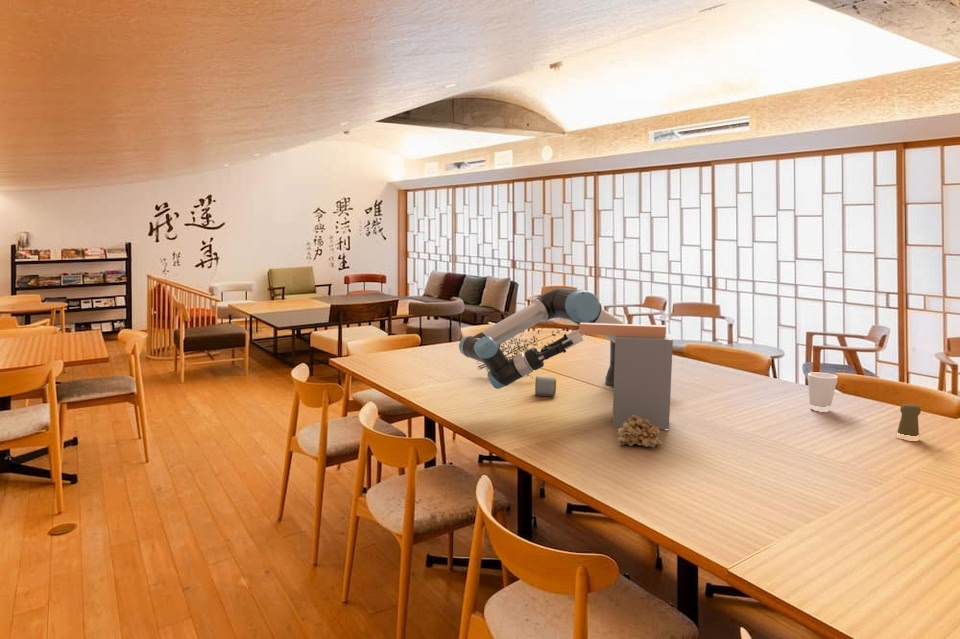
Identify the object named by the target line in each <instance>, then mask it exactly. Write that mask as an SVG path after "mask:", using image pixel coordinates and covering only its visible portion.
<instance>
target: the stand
mask: <svg viewBox="0 0 960 639" xmlns="http://www.w3.org/2000/svg"><path fill="white" fill-rule="evenodd" d="M673 342H674V340H673V337H672V334H671V333H666V338H663V337H637V336H615V363H614V386H613V395H612V396H613V398H612V399H613V401H612V427H614V426H617V428H621V426H622V425H623V422H625V421H627V420H628V418H630V417H631V416H632V415H636V416H639V417H640V418H641V419H642V420H643V419H647V420H648V421H649V422H650V424H651V425H653V426H657V427H658V428H659V429H669V430H670V414H671V413H670V412H671V409H670V408H671V392H672V391H671V390H672V389H671V388H672V367H673V363H672V362H673V348H674V347H673V344H674V343H673Z"/></svg>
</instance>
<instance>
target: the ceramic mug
mask: <svg viewBox="0 0 960 639" xmlns="http://www.w3.org/2000/svg"><path fill="white" fill-rule="evenodd" d="M534 382H535V384H534V387H535V388H534V395H535V396H541V397H542V396H543V397H545V396H547V397H551V396H552V397H553V396H555V395H556V391H557V379H556V378H554V377H551V376H540V375H536V376H535V381H534Z"/></svg>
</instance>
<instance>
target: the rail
mask: <svg viewBox="0 0 960 639" xmlns="http://www.w3.org/2000/svg"><path fill="white" fill-rule="evenodd" d="M578 329H579V333H580V334H585V335H589V336H603V335H611V336H637V337H663V338H666V334H667V332H666V331H667V326H666V325H665V324H662V325H661V324H659V325H658V324H637V323H636V324H633V323H629V324H628V323H625V324H608V323H580V324H579V325H578ZM585 335H584V336H585Z"/></svg>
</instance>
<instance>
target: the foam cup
mask: <svg viewBox="0 0 960 639" xmlns="http://www.w3.org/2000/svg"><path fill="white" fill-rule="evenodd" d="M807 384H808V385H807V386H808V396H809V398H808V399H809V405H810V404H811V405H814V406H819V407H826V406H831V407H832V403H833V399H834V394H835V389H836V386H837V384H838V375H836V374H833V373H832V374H831V373H827V372H818V371H817V372H815V371H813V372H808V373H807Z"/></svg>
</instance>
